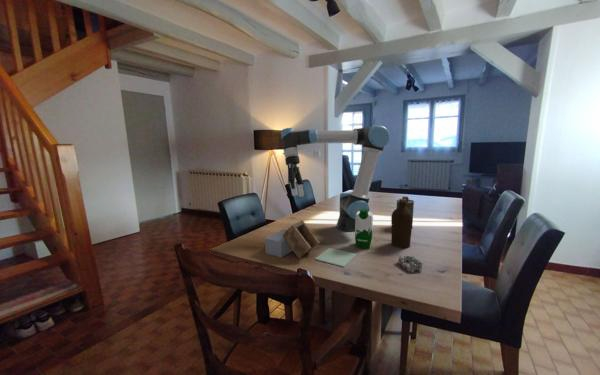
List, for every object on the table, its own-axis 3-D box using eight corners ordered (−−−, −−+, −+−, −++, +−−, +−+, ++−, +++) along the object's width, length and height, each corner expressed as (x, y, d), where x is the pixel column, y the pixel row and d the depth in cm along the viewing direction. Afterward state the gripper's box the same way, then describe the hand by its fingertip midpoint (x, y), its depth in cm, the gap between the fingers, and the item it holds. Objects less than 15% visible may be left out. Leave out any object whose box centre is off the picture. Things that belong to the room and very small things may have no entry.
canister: (414, 230, 166) (416, 198, 162) (396, 229, 168) (398, 198, 165) (410, 225, 176) (412, 195, 173) (394, 224, 179) (395, 194, 175)
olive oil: (414, 248, 139) (417, 201, 134) (394, 248, 139) (396, 201, 134) (406, 240, 149) (409, 196, 145) (387, 241, 149) (389, 197, 145)
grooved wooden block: (282, 254, 135) (281, 222, 132) (292, 248, 142) (292, 218, 139) (310, 261, 126) (310, 228, 123) (319, 254, 133) (319, 223, 130)
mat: (329, 248, 140) (329, 247, 140) (356, 255, 132) (356, 254, 132) (315, 259, 128) (315, 258, 128) (344, 267, 120) (344, 266, 119)
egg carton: (395, 262, 124) (396, 254, 124) (411, 261, 125) (411, 252, 125) (408, 273, 114) (408, 264, 113) (424, 271, 115) (425, 262, 114)
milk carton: (353, 247, 141) (354, 210, 137) (356, 241, 149) (356, 206, 146) (371, 249, 138) (372, 212, 134) (372, 243, 146) (373, 207, 143)
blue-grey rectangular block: (265, 253, 136) (264, 238, 135) (284, 242, 149) (283, 229, 148) (281, 257, 131) (280, 241, 129) (299, 246, 144) (299, 232, 142)
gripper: (291, 162, 157) (298, 197, 155) (277, 154, 133) (284, 196, 131) (304, 159, 155) (310, 195, 153) (291, 150, 131) (299, 193, 129)
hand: (298, 195), depth 142 cm, fingers open, 13 cm apart
